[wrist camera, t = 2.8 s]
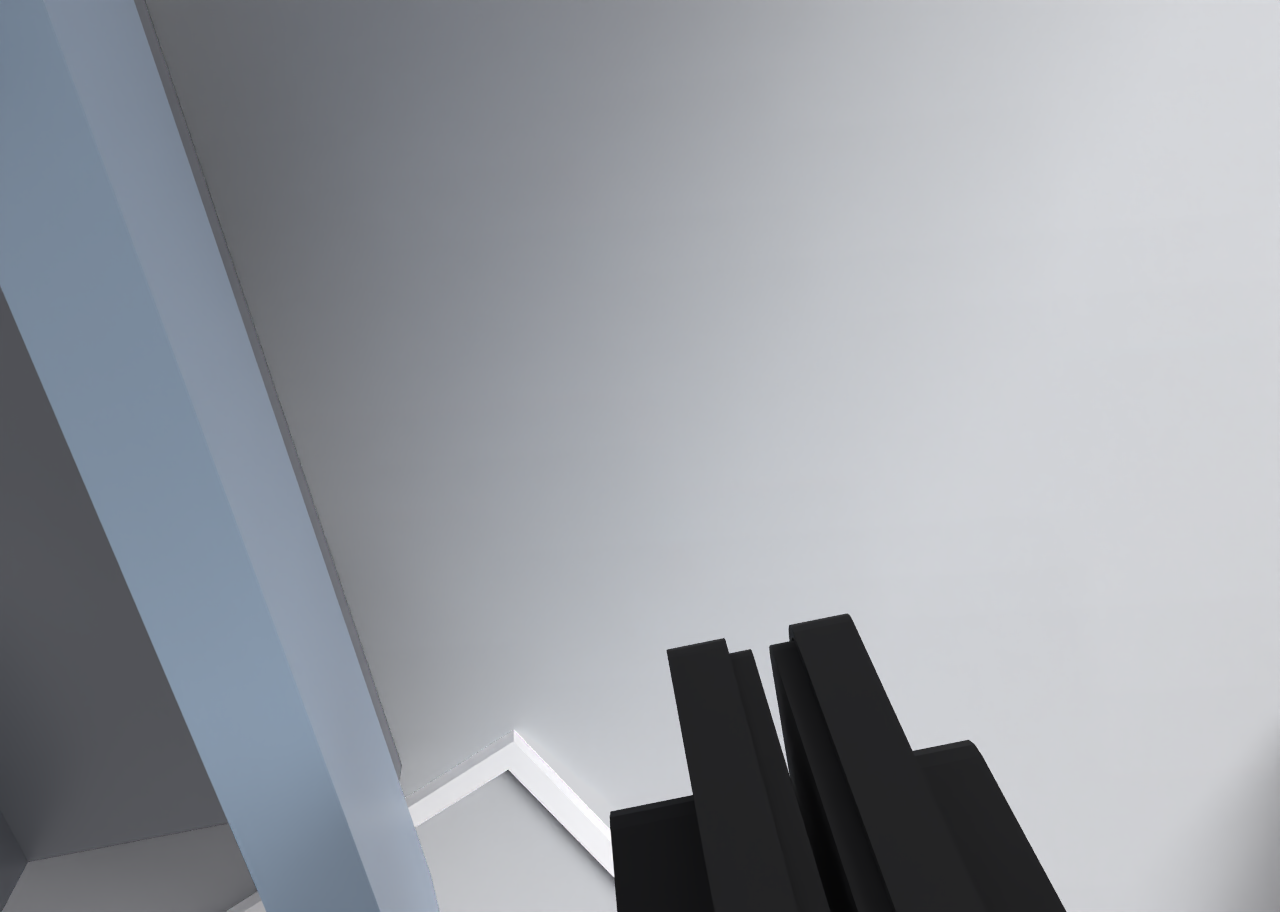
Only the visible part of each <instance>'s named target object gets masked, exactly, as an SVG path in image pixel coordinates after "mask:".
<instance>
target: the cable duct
mask: <svg viewBox="0 0 1280 912" xmlns="http://www.w3.org/2000/svg"><path fill="white" fill-rule="evenodd" d="M134 2H135V5H136V8H137V11H138V14H139V17H140V20H141V23H142V26H143V29H144V32H145V35H146V38H147V41H148V44H149V47H150V50H151V52H152V55H153V58H154V61H155V64H156V67H157V70H158V73H159V76H160V79H161V82H162V85H163V88H164V91H165V94H166V97H167V100H168V103H169V105H170V108H171V111H172V114H173V117H174V120H175V123H176V126H177V129H178V132H179V135H180V138H181V141H182V144H183V147H184V150H185V153H186V156H187V158H188V161H189V164H190V167H191V170H192V173H193V176H194V179H195V182H196V185H197V188H198V191H199V194H200V197H201V200H202V203H203V206H204V208H205V211H206V214H207V217H208V220H209V223H210V226H211V229H212V232H213V235H214V238H215V241H216V244H217V247H218V250H219V253H220V256H221V259H222V261H223V264H224V267H225V270H226V273H227V276H228V279H229V282H230V285H231V288H232V291H233V294H234V297H235V300H236V303H237V306H238V309H239V312H240V314H241V317H242V320H243V323H244V326H245V329H246V332H247V335H248V338H249V341H250V344H251V347H252V350H253V353H254V356H255V359H256V362H257V365H258V367H259V370H260V373H261V376H262V379H263V382H264V385H265V388H266V391H267V394H268V397H269V400H270V403H271V406H272V409H273V412H274V415H275V418H276V420H277V423H278V426H279V429H280V432H281V435H282V438H283V441H284V444H285V447H286V450H287V453H288V456H289V459H290V462H291V465H292V468H293V471H294V473H295V476H296V479H297V482H298V485H299V488H300V491H301V494H302V497H303V500H304V503H305V506H306V509H307V512H308V515H309V518H310V521H311V524H312V526H313V529H314V532H315V535H316V538H317V541H318V544H319V547H320V550H321V553H322V556H323V559H324V562H325V565H326V568H327V571H328V574H329V577H330V579H331V582H332V585H333V588H334V591H335V594H336V597H337V600H338V603H339V606H340V609H341V612H342V615H343V618H344V621H345V624H346V627H347V630H348V632H349V635H350V638H351V641H352V644H353V647H354V650H355V653H356V656H357V659H358V662H359V665H360V668H361V671H362V674H363V677H364V680H365V683H366V685H367V688H368V691H369V694H370V697H371V700H372V703H373V706H374V709H375V712H376V715H377V718H378V721H379V724H380V727H381V730H382V733H383V736H384V738H385V741H386V744H387V747H388V750H389V753H390V756H391V759H392V762H393V765H394V768H395V771H396V774H397V777H398V780H399V779H400V773H401V767H402V765H401V762H400V759H399V756H398V753H397V750H396V747H395V744H394V741H393V738H392V735H391V732H390V729H389V726H388V723H387V720H386V717H385V714H384V711H383V708H382V705H381V702H380V699H379V696H378V693H377V690H376V687H375V684H374V681H373V678H372V675H371V672H370V669H369V666H368V664H367V661H366V658H365V655H364V652H363V649H362V646H361V643H360V640H359V637H358V634H357V631H356V628H355V625H354V622H353V619H352V616H351V613H350V610H349V607H348V604H347V601H346V598H345V595H344V592H343V589H342V586H341V583H340V580H339V577H338V574H337V571H336V568H335V565H334V562H333V559H332V556H331V553H330V550H329V547H328V544H327V541H326V539H325V536H324V533H323V530H322V527H321V524H320V521H319V518H318V515H317V512H316V509H315V506H314V503H313V500H312V497H311V494H310V491H309V488H308V485H307V482H306V479H305V476H304V473H303V470H302V467H301V464H300V461H299V458H298V455H297V452H296V449H295V446H294V443H293V440H292V437H291V434H290V431H289V428H288V425H287V422H286V419H285V416H284V414H283V411H282V408H281V405H280V402H279V399H278V396H277V393H276V390H275V387H274V384H273V381H272V378H271V375H270V372H269V369H268V366H267V363H266V360H265V357H264V354H263V351H262V348H261V345H260V342H259V339H258V336H257V333H256V330H255V327H254V324H253V321H252V318H251V315H250V312H249V309H248V306H247V303H246V300H245V297H244V294H243V292H242V289H241V286H240V283H239V280H238V277H237V274H236V271H235V268H234V265H233V262H232V259H231V256H230V253H229V250H228V247H227V244H226V241H225V238H224V235H223V232H222V229H221V226H220V223H219V220H218V217H217V214H216V211H215V208H214V205H213V202H212V199H211V196H210V193H209V190H208V187H207V184H206V181H205V178H204V175H203V172H202V169H201V167H200V164H199V161H198V158H197V155H196V152H195V149H194V146H193V143H192V140H191V137H190V134H189V131H188V128H187V125H186V122H185V119H184V116H183V113H182V110H181V107H180V104H179V101H178V98H177V95H176V92H175V89H174V86H173V83H172V80H171V77H170V74H169V71H168V68H167V65H166V62H165V59H164V56H163V53H162V50H161V47H160V44H159V42H158V39H157V36H156V33H155V30H154V27H153V24H152V21H151V18H150V15H149V12H148V9H147V6H146V3H145V0H134ZM227 823H228V820H227V818H226V816H225V813H224V811H223V809H222V806H221V804H220V802H219V799H218V797H217V795H216V792H215V790H214V787H213V785H212V783H211V780H210V778H209V776H208V773H207V771H206V769H205V766H204V764H203V762H202V759H201V757H200V755H199V752H198V750H197V747H196V745H195V743H194V740H193V738H192V736H191V733H190V731H189V729H188V726H187V724H186V722H185V719H184V717H183V715H182V712H181V710H180V707H179V705H178V703H177V700H176V698H175V696H174V693H173V691H172V689H171V686H170V684H169V682H168V679H167V677H166V675H165V672H164V670H163V668H162V665H161V663H160V660H159V658H158V656H157V653H156V651H155V649H154V646H153V644H152V642H151V639H150V637H149V635H148V632H147V630H146V628H145V625H144V623H143V620H142V618H141V616H140V613H139V611H138V609H137V606H136V604H135V602H134V599H133V597H132V595H131V592H130V590H129V588H128V585H127V583H126V580H125V578H124V576H123V573H122V571H121V569H120V566H119V564H118V562H117V559H116V557H115V555H114V552H113V550H112V548H111V545H110V543H109V540H108V538H107V536H106V533H105V531H104V529H103V526H102V524H101V522H100V519H99V517H98V515H97V512H96V510H95V508H94V505H93V503H92V500H91V498H90V496H89V493H88V491H87V489H86V486H85V484H84V482H83V479H82V477H81V475H80V472H79V470H78V468H77V465H76V463H75V460H74V458H73V456H72V453H71V451H70V449H69V446H68V444H67V442H66V439H65V437H64V435H63V432H62V430H61V428H60V425H59V423H58V420H57V418H56V416H55V413H54V411H53V409H52V406H51V404H50V402H49V399H48V397H47V395H46V392H45V390H44V388H43V385H42V383H41V380H40V378H39V376H38V373H37V371H36V369H35V366H34V364H33V362H32V359H31V357H30V355H29V352H28V350H27V348H26V345H25V343H24V340H23V338H22V336H21V333H20V331H19V329H18V326H17V324H16V322H15V319H14V317H13V315H12V312H11V310H10V308H9V305H8V303H7V300H6V298H5V296H4V293H3V291H2V289H1V286H0V912H2V910H3V908H4V906H5V904H6V902H7V900H8V898H9V896H10V895H11V893H12V891H13V889H14V887H15V885H16V883H17V881H18V880H19V878H20V876H21V874H22V872H23V870H24V868H25V866H26V864H27V863H28V862H30V861H35V860H41V859H46V858H51V857H56V856H61V855H67V854H72V853H77V852H82V851H87V850H92V849H98V848H103V847H108V846H113V845H118V844H123V843H129V842H134V841H139V840H144V839H149V838H154V837H160V836H165V835H170V834H175V833H180V832H186V831H191V830H196V829H201V828H206V827H211V826H217V825H222V824H227Z"/></svg>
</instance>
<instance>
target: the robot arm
mask: <svg viewBox="0 0 1280 912" xmlns="http://www.w3.org/2000/svg"><path fill="white" fill-rule="evenodd" d="M789 639H790V641H789V642H784V643H779V644H774V645H770V647H769V649H770V658H771V664H772V670H773V677H774V683H775V689H776V695H777V701H778V707H779V713H780V719H781V725H782V731H783V738H784V744H785V750H786V756H787V762H788V768H789V772H788V769H787V766H786V762H785V759H784V756H783V753H782V749H781V746H780V743H779V739H778V736H777V733H776V729H775V726H774V723H773V719H772V716H771V713H770V709H769V706H768V703H767V699H766V696H765V693H764V689H763V686H762V683H761V679H760V676H759V673H758V669H757V666H756V663H755V659H754V656H753V653H752V650H751V649H749V650H745V651H740V652H735V653H730V654H729V651H728V648H727V644H726V641H725V639H724V638H723V639H718V640H713V641H708V642H703V643H698V644H693V645H688V646H683V647H678V648H673V649H668V650H667V655H668V661H669V666H670V672H671V677H672V683H673V688H674V694H675V699H676V704H677V710H678V715H679V721H680V726H681V732H682V737H683V743H684V748H685V754H686V759H687V764H688V770H689V775H690V781H691V786H692V792H693V795H691V796H686V797H681V798H676V799H671V800H666V801H661V802H656V803H651V804H646V805H641V806H636V807H631V808H626V809H621V810H616V811H611V812H610V831H611V843H612V854H613V866H614V878H615V890H616V901H617V912H1066V910H1065V908H1064V906H1063V905H1062V903H1061V901H1060V899H1059V897H1058V895H1057V894H1056V892H1055V890H1054V888H1053V886H1052V884H1051V882H1050V881H1049V879H1048V877H1047V875H1046V873H1045V871H1044V869H1043V868H1042V866H1041V864H1040V862H1039V860H1038V858H1037V856H1036V855H1035V853H1034V851H1033V849H1032V847H1031V845H1030V843H1029V842H1028V840H1027V838H1026V836H1025V834H1024V832H1023V831H1022V829H1021V827H1020V825H1019V823H1018V821H1017V819H1016V818H1015V816H1014V814H1013V812H1012V810H1011V808H1010V806H1009V805H1008V803H1007V801H1006V799H1005V797H1004V795H1003V793H1002V792H1001V790H1000V788H999V786H998V784H997V782H996V780H995V779H994V777H993V775H992V773H991V771H990V769H989V768H988V766H987V764H986V762H985V760H984V758H983V756H982V755H981V753H980V752H979V750H978V749H977V747H976V746H975V744H974V743H972V742H971V741H969V740H965V741H960V742H955V743H950V744H945V745H940V746H935V747H930V748H925V749H921V750H916V751H912V749H911V747H910V745H909V742H908V740H907V738H906V736H905V734H904V731H903V729H902V727H901V725H900V723H899V721H898V718H897V716H896V714H895V712H894V710H893V707H892V705H891V703H890V701H889V699H888V697H887V694H886V692H885V690H884V688H883V686H882V683H881V681H880V679H879V677H878V675H877V673H876V670H875V668H874V666H873V664H872V662H871V659H870V657H869V655H868V653H867V651H866V649H865V646H864V644H863V642H862V640H861V638H860V635H859V633H858V631H857V629H856V627H855V625H854V622H853V620H852V619H851V617H850V615H849V614H842V615H837V616H832V617H827V618H822V619H817V620H812V621H807V622H802V623H797V624H792V625H789ZM789 774H790V776H789Z"/></svg>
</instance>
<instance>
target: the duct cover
mask: <svg viewBox="0 0 1280 912" xmlns="http://www.w3.org/2000/svg"><path fill="white" fill-rule="evenodd" d="M0 286H1V289H2V291H3V293H4V296H5V298H6V300H7V303H8V305H9V308H10V310H11V312H12V315H13V317H14V319H15V322H16V324H17V326H18V329H19V331H20V333H21V336H22V338H23V340H24V343H25V345H26V348H27V350H28V352H29V355H30V357H31V359H32V362H33V364H34V366H35V369H36V371H37V373H38V376H39V378H40V380H41V383H42V385H43V388H44V390H45V392H46V395H47V397H48V399H49V402H50V404H51V406H52V409H53V411H54V413H55V416H56V418H57V420H58V423H59V425H60V428H61V430H62V432H63V435H64V437H65V439H66V442H67V444H68V446H69V449H70V451H71V453H72V456H73V458H74V460H75V463H76V465H77V468H78V470H79V472H80V475H81V477H82V479H83V482H84V484H85V486H86V489H87V491H88V493H89V496H90V498H91V500H92V503H93V505H94V508H95V510H96V512H97V515H98V517H99V519H100V522H101V524H102V526H103V529H104V531H105V533H106V536H107V538H108V540H109V543H110V545H111V548H112V550H113V552H114V555H115V557H116V559H117V562H118V564H119V566H120V569H121V571H122V573H123V576H124V578H125V580H126V583H127V585H128V588H129V590H130V592H131V595H132V597H133V599H134V602H135V604H136V606H137V609H138V611H139V613H140V616H141V618H142V620H143V623H144V625H145V628H146V630H147V632H148V635H149V637H150V639H151V642H152V644H153V646H154V649H155V651H156V653H157V656H158V658H159V660H160V663H161V665H162V668H163V670H164V672H165V675H166V677H167V679H168V682H169V684H170V686H171V689H172V691H173V693H174V696H175V698H176V700H177V703H178V705H179V707H180V710H181V712H182V715H183V717H184V719H185V722H186V724H187V726H188V729H189V731H190V733H191V736H192V738H193V740H194V743H195V745H196V747H197V750H198V752H199V755H200V757H201V759H202V762H203V764H204V766H205V769H206V771H207V773H208V776H209V778H210V780H211V783H212V785H213V787H214V790H215V792H216V795H217V797H218V799H219V802H220V804H221V806H222V809H223V811H224V813H225V816H226V818H227V820H228V823H229V825H230V827H231V830H232V832H233V835H234V837H235V839H236V842H237V844H238V846H239V849H240V851H241V853H242V856H243V858H244V860H245V863H246V865H247V867H248V870H249V872H250V875H251V877H252V879H253V882H254V884H255V886H256V889H257V891H258V893H259V896H260V898H261V900H262V903H263V905H264V907H265V910H266V912H440V911H439V907H438V903H437V899H436V894H435V890H434V886H433V882H432V877H431V874H430V871H429V868H428V865H427V862H426V859H425V856H424V853H423V850H422V847H421V844H420V842H419V839H418V836H417V833H416V830H415V827H414V824H413V821H412V818H411V815H410V812H409V809H408V806H407V803H406V800H405V797H404V794H403V791H402V789H401V786H400V783H399V780H398V777H397V774H396V771H395V768H394V765H393V762H392V759H391V756H390V753H389V750H388V747H387V744H386V741H385V738H384V736H383V733H382V730H381V727H380V724H379V721H378V718H377V715H376V712H375V709H374V706H373V703H372V700H371V697H370V694H369V691H368V688H367V685H366V683H365V680H364V677H363V674H362V671H361V668H360V665H359V662H358V659H357V656H356V653H355V650H354V647H353V644H352V641H351V638H350V635H349V632H348V630H347V627H346V624H345V621H344V618H343V615H342V612H341V609H340V606H339V603H338V600H337V597H336V594H335V591H334V588H333V585H332V582H331V579H330V577H329V574H328V571H327V568H326V565H325V562H324V559H323V556H322V553H321V550H320V547H319V544H318V541H317V538H316V535H315V532H314V529H313V526H312V524H311V521H310V518H309V515H308V512H307V509H306V506H305V503H304V500H303V497H302V494H301V491H300V488H299V485H298V482H297V479H296V476H295V473H294V471H293V468H292V465H291V462H290V459H289V456H288V453H287V450H286V447H285V444H284V441H283V438H282V435H281V432H280V429H279V426H278V423H277V420H276V418H275V415H274V412H273V409H272V406H271V403H270V400H269V397H268V394H267V391H266V388H265V385H264V382H263V379H262V376H261V373H260V370H259V367H258V365H257V362H256V359H255V356H254V353H253V350H252V347H251V344H250V341H249V338H248V335H247V332H246V329H245V326H244V323H243V320H242V317H241V314H240V312H239V309H238V306H237V303H236V300H235V297H234V294H233V291H232V288H231V285H230V282H229V279H228V276H227V273H226V270H225V267H224V264H223V261H222V259H221V256H220V253H219V250H218V247H217V244H216V241H215V238H214V235H213V232H212V229H211V226H210V223H209V220H208V217H207V214H206V211H205V208H204V206H203V203H202V200H201V197H200V194H199V191H198V188H197V185H196V182H195V179H194V176H193V173H192V170H191V167H190V164H189V161H188V158H187V156H186V153H185V150H184V147H183V144H182V141H181V138H180V135H179V132H178V129H177V126H176V123H175V120H174V117H173V114H172V111H171V108H170V105H169V103H168V100H167V97H166V94H165V91H164V88H163V85H162V82H161V79H160V76H159V73H158V70H157V67H156V64H155V61H154V58H153V55H152V52H151V50H150V47H149V44H148V41H147V38H146V35H145V32H144V29H143V26H142V23H141V20H140V17H139V14H138V11H137V8H136V5H135V2H134V0H0Z"/></svg>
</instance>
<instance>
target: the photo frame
mask: <svg viewBox="0 0 1280 912" xmlns="http://www.w3.org/2000/svg"><path fill="white" fill-rule="evenodd" d="M507 770H509V771H510V772H511V773H512V774H513V775H514V776H515V777H516V778H517V779H518V780H519V781H520V782H521V783H522V784H523V785H524V786H525V787H526V788H527V789H528V790H529V791H530V792H531V793H532V794H533V795H534V796H535V797H536V798H537V799H538V800H539V801H540V802H541V803H542V805H543V806H544V807H545V808H546V809H547V810H548V811H549V812H550V813H551V814H552V815H553V816H554V817H555V818H556V819H557V820H558V821H559V822H560V823H561V824H562V825H563V826H564V827H565V828H566V829H567V830H568V831H569V832H570V833H571V834H572V835H573V836H574V837H575V838H576V839H577V840H578V841H579V842H580V843H581V844H582V845H583V846H584V847H585V848H586V849H587V850H588V851H589V852H590V853H591V854H592V855H593V856H594V857H595V858H596V860H597V861H598V862H599V863H600V864H601V865H602V866H603V867H604V868H605V869H606V870H607V871H608V872H609V873H610V874H611V875H612V876H613V877H614V866H613V854H612V843H611V831H610V829H609V828H608V827H607V826H606V825H605V824H604V823H603V822H602V821H601V820H600V819H599V818H598V816H597V815H596V814H595V813H594V812H593V811H592V810H591V809H590V808H589V807H588V806H587V805H586V804H585V803H584V802H583V801H582V800H581V799H580V798H579V797H578V796H577V795H576V794H575V792H574V791H573V790H572V789H571V788H570V787H569V786H568V785H567V784H566V783H565V782H564V781H563V780H562V779H561V778H560V777H559V776H558V775H557V774H556V773H555V772H554V771H553V770H552V768H551V767H550V766H549V765H548V764H547V763H546V762H545V761H544V760H543V759H542V758H541V757H540V756H539V755H538V754H537V753H536V752H535V751H534V750H533V749H532V748H531V747H530V746H529V744H528V743H527V742H526V741H525V740H524V739H523V738H522V737H521V736H520V735H519V734H518V733H517V732H516V731H515V730H512V731H510V732H509V733H507V734H506V735H504V736H502V737H501V738H499V739H498V740H496V741H495V742H493V743H491V744H490V745H488V746H487V747H485V748H484V749H482V750H480V751H479V752H477V753H476V754H474V755H472V756H471V757H469V758H468V759H466V760H465V761H463V762H461V763H460V764H458V765H457V766H455V767H453V768H452V769H450V770H449V771H447V772H446V773H444V774H442V775H441V776H439V777H438V778H436V779H434V780H433V781H431V782H430V783H428V784H427V785H425V786H423V787H422V788H420V789H419V790H417V791H415V792H414V793H412V794H411V795H409V796H408V797H406V798H405V800H406V803H407V806H408V809H409V812H410V815H411V818H412V821H413V824H414V827H417V826H419V825H420V824H422V823H423V822H425V821H427V820H428V819H430V818H431V817H433V816H435V815H436V814H438V813H439V812H441V811H443V810H444V809H446V808H447V807H449V806H451V805H452V804H454V803H455V802H457V801H459V800H460V799H462V798H463V797H465V796H467V795H468V794H470V793H471V792H473V791H475V790H476V789H478V788H479V787H481V786H483V785H484V784H486V783H487V782H489V781H491V780H492V779H494V778H495V777H497V776H499V775H500V774H502V773H503V772H505V771H507ZM226 912H266V910H265V907H264V905H263V903H262V900H261V898H260V896H259V893H258V891H257V892H256V893H254V894H253V895H251V896H249V897H248V898H246V899H245V900H243V901H241V902H240V903H238V904H237V905H235V906H234V907H232V908H230V909H229V910H227V911H226Z"/></svg>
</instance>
